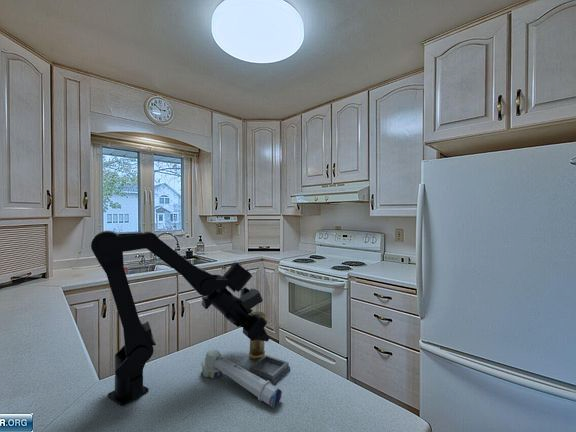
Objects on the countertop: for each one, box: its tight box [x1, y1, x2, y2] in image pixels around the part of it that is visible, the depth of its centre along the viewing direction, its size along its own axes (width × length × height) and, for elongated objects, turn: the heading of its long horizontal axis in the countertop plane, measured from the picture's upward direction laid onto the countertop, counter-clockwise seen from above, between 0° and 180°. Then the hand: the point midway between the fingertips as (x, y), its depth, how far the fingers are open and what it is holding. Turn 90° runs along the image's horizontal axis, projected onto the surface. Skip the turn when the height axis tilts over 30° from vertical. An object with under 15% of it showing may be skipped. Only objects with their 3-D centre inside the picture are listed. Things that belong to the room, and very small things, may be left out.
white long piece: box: [200, 348, 283, 408], centre depth 70 cm, size 5×7×25 cm
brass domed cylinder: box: [248, 311, 267, 362], centre depth 84 cm, size 5×5×13 cm
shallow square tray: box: [248, 354, 291, 386], centre depth 76 cm, size 8×8×2 cm
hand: (261, 334), depth 85 cm, fingers open, 9 cm apart
